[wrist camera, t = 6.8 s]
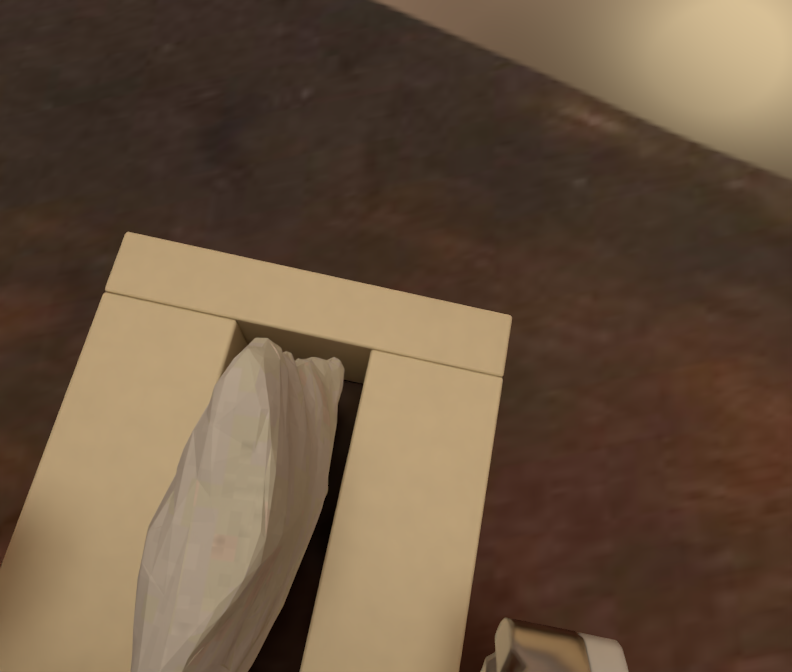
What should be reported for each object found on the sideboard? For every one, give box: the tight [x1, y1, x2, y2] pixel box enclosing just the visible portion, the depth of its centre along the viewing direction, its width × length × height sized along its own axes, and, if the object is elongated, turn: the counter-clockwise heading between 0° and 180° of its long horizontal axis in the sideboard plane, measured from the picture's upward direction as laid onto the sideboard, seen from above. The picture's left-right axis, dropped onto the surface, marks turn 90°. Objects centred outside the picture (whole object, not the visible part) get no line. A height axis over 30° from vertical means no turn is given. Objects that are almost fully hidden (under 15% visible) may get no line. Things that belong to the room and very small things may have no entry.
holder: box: [0, 232, 512, 672], centre depth 14 cm, size 9×12×4 cm
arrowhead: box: [131, 338, 345, 672], centre depth 11 cm, size 8×2×10 cm, turn 162°
